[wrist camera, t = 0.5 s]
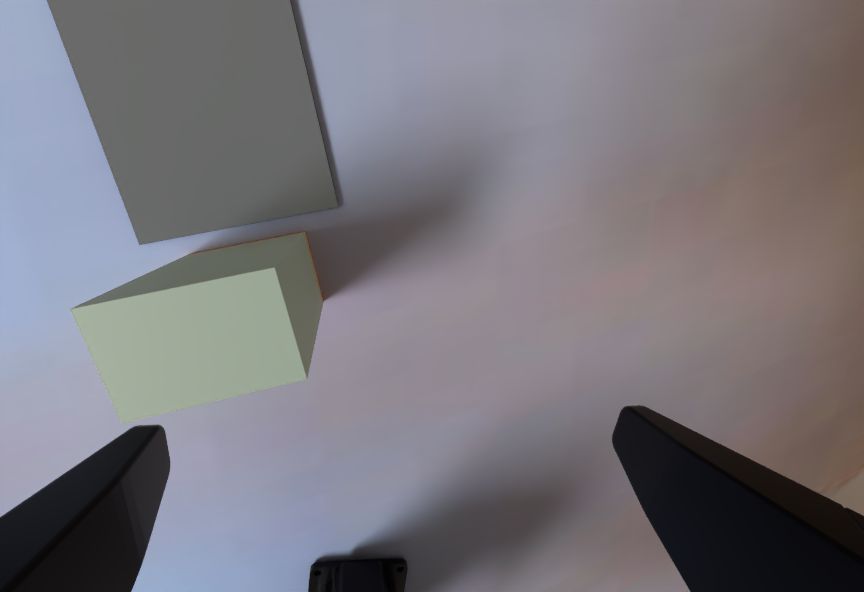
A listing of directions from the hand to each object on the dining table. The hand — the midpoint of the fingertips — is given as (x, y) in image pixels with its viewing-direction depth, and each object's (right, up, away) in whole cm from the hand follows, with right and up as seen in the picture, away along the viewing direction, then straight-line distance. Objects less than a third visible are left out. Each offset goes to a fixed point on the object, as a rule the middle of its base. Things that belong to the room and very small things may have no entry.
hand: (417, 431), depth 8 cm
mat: (-11, +12, +12) cm, 20 cm away
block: (-9, +4, +15) cm, 18 cm away
